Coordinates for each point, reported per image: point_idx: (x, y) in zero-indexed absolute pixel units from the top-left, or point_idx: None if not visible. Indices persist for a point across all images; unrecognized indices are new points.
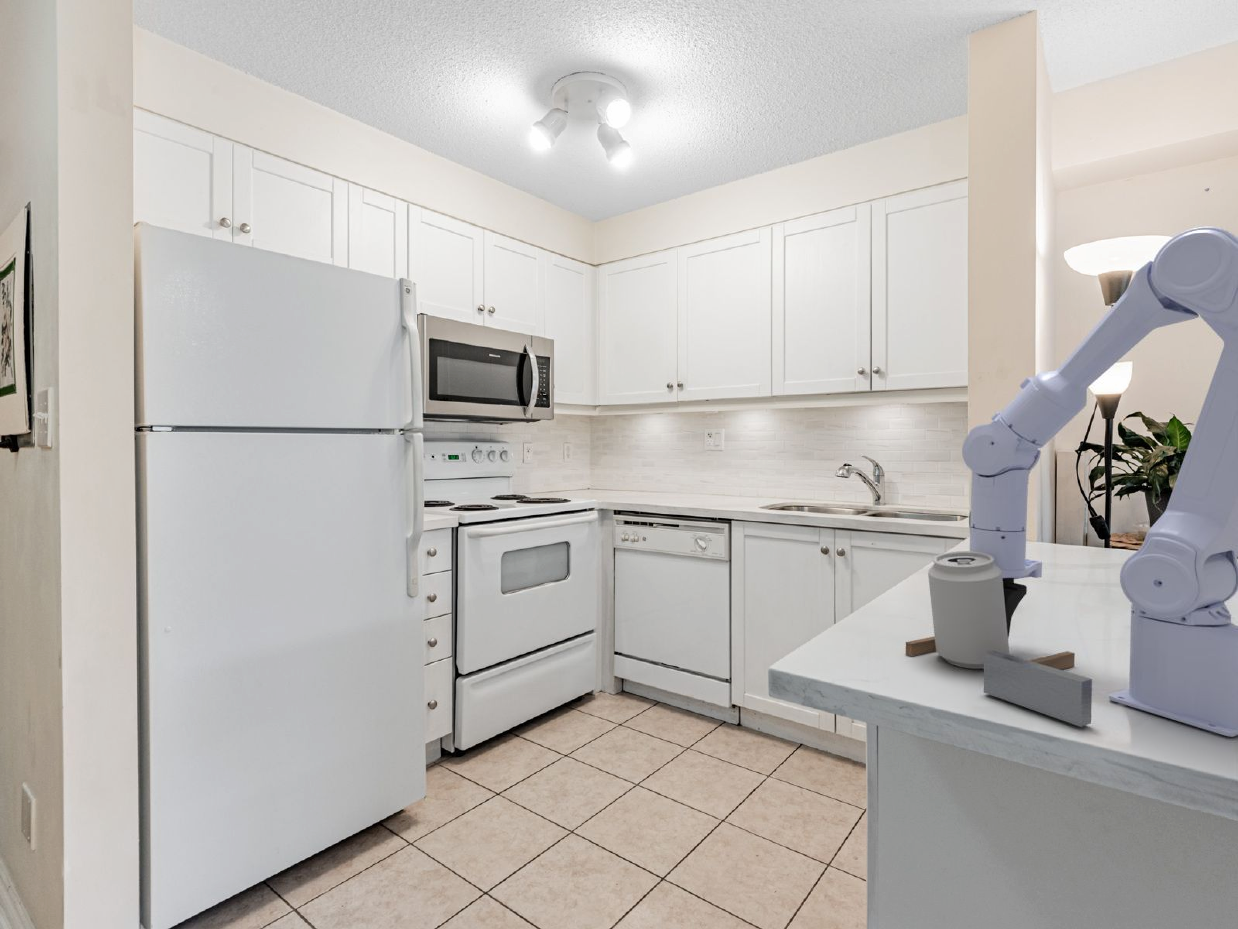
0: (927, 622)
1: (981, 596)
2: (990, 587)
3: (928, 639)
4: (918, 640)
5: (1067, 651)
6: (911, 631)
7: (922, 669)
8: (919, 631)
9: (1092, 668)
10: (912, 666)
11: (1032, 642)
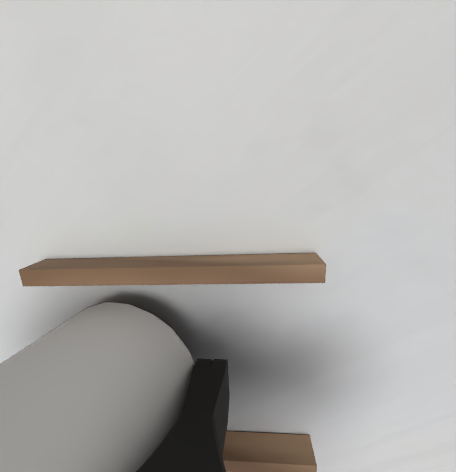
0: (358, 39)
1: None
2: None
3: (89, 279)
4: (58, 274)
5: (315, 467)
6: (210, 109)
7: (22, 331)
8: (233, 120)
9: (329, 462)
10: (14, 312)
11: (419, 329)
